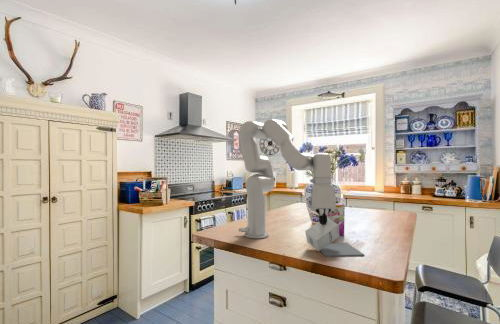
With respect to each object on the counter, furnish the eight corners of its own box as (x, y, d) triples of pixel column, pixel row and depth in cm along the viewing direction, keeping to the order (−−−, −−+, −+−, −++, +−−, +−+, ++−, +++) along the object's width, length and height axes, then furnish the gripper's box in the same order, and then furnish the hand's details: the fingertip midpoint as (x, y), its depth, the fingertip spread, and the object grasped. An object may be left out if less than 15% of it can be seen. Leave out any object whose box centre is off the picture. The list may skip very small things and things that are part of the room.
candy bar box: (323, 235, 136) (323, 204, 136) (321, 233, 141) (321, 202, 141) (344, 236, 135) (344, 204, 135) (342, 233, 140) (342, 203, 140)
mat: (325, 256, 104) (325, 255, 104) (313, 244, 120) (313, 243, 120) (364, 255, 105) (364, 254, 105) (346, 244, 121) (346, 242, 121)
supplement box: (316, 240, 106) (338, 224, 110) (304, 230, 112) (326, 216, 116) (318, 252, 110) (340, 236, 114) (307, 242, 116) (327, 227, 120)
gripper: (307, 182, 108) (308, 226, 107) (342, 181, 109) (343, 225, 108) (302, 181, 115) (303, 223, 115) (335, 181, 116) (336, 222, 116)
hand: (323, 224), depth 112 cm, fingers closed
